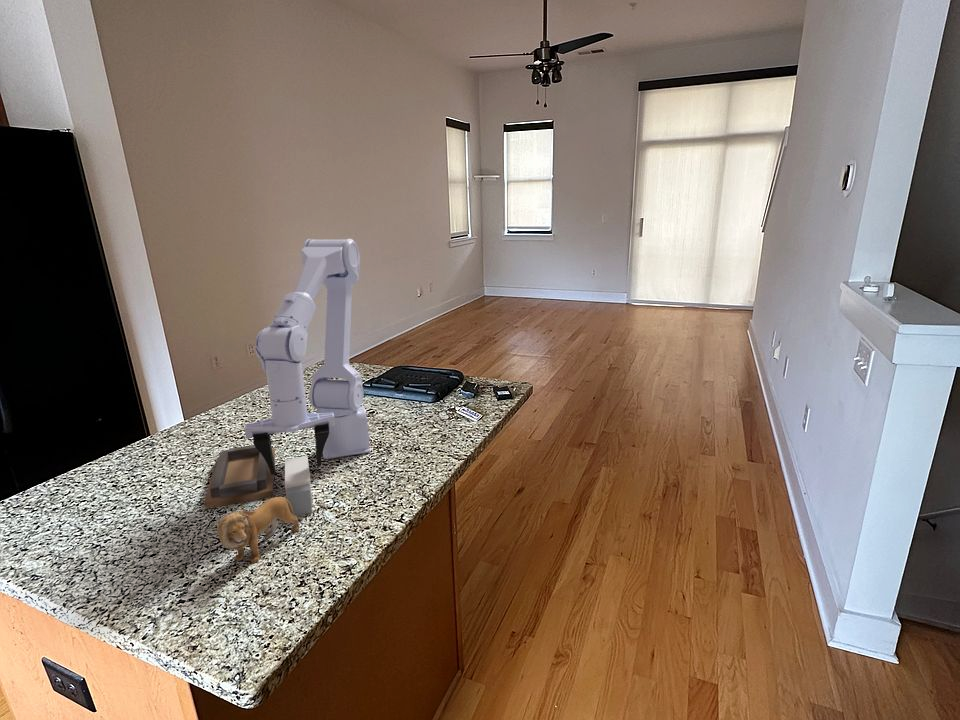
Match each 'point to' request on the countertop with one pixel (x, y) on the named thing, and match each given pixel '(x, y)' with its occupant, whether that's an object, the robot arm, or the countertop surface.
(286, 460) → the white pillar grey cap
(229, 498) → the cradle jig
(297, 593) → the countertop surface
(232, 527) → the lion figurine
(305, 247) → the robot arm
